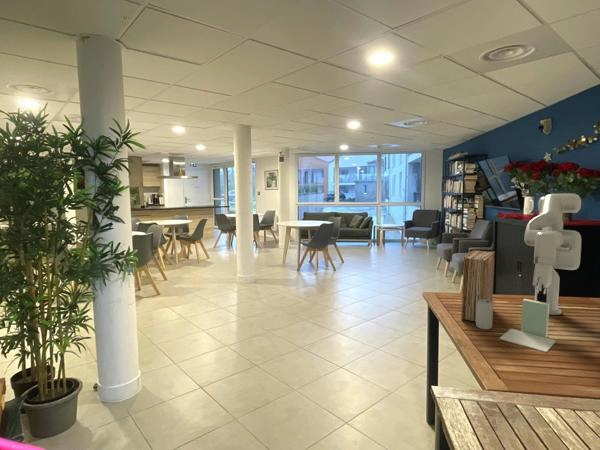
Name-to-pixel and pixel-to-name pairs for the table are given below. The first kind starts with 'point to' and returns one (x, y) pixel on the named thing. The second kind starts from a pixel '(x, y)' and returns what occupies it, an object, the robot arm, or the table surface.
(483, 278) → the book
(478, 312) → the beverage can
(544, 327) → the glazed tile
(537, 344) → the mat
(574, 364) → the table surface
